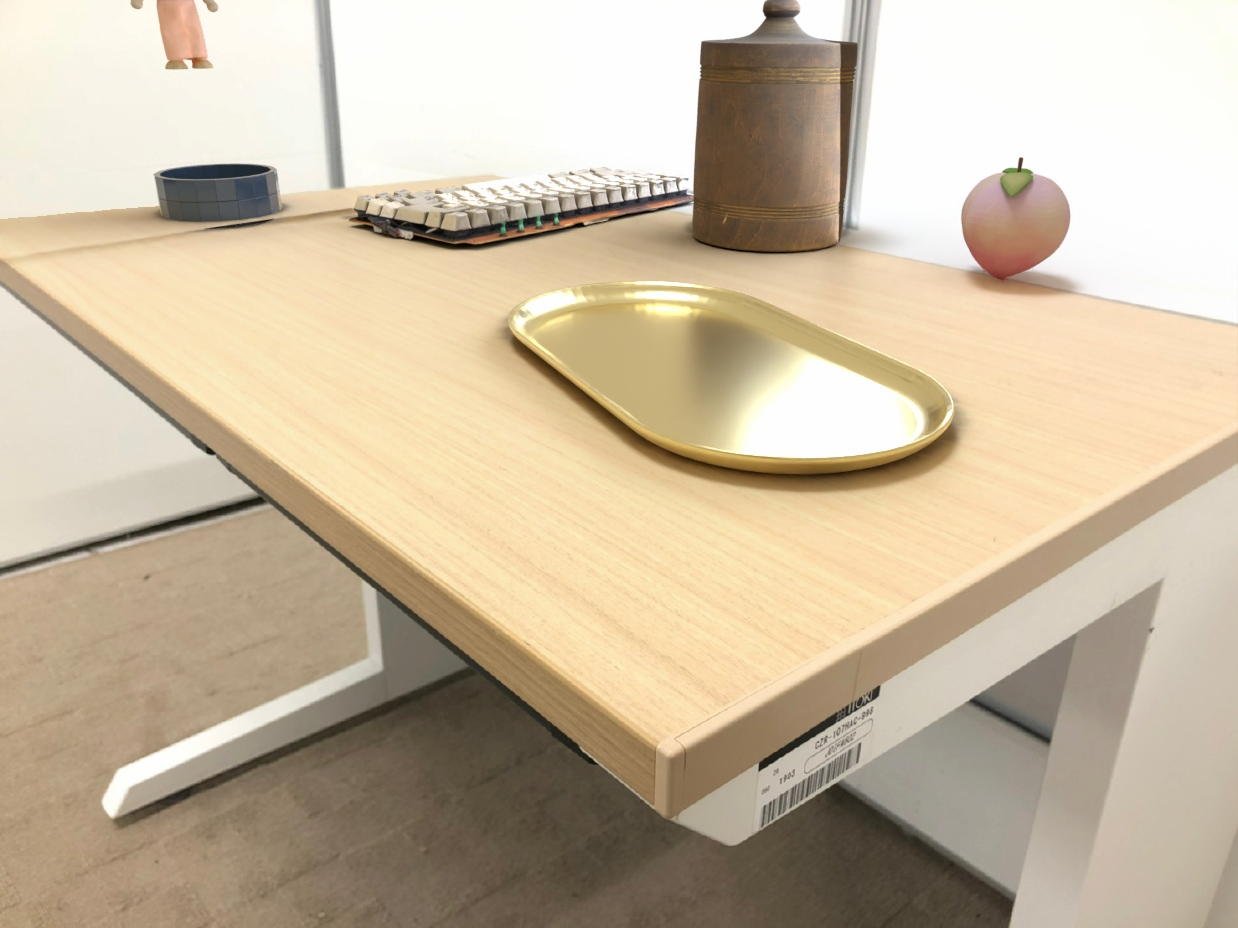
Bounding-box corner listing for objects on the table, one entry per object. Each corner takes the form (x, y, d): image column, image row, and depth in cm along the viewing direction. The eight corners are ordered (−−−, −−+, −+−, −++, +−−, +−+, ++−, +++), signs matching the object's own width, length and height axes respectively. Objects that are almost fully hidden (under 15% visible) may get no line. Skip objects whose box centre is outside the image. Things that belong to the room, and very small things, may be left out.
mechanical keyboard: (587, 185, 129) (586, 158, 128) (704, 203, 118) (705, 173, 117) (342, 228, 104) (338, 195, 102) (461, 257, 92) (459, 220, 91)
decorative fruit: (1067, 297, 79) (1093, 167, 74) (960, 291, 80) (979, 164, 76) (1046, 270, 87) (1067, 151, 83) (949, 265, 89) (965, 148, 84)
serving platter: (695, 290, 80) (696, 271, 79) (1028, 447, 51) (1033, 418, 51) (473, 318, 73) (472, 297, 72) (716, 519, 44) (718, 487, 43)
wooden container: (822, 222, 106) (842, -4, 97) (857, 253, 93) (883, -6, 84) (685, 223, 106) (692, -4, 97) (699, 254, 93) (709, -7, 83)
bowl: (143, 218, 107) (134, 171, 105) (249, 204, 115) (243, 160, 113) (193, 235, 100) (184, 184, 98) (303, 218, 108) (297, 171, 106)
